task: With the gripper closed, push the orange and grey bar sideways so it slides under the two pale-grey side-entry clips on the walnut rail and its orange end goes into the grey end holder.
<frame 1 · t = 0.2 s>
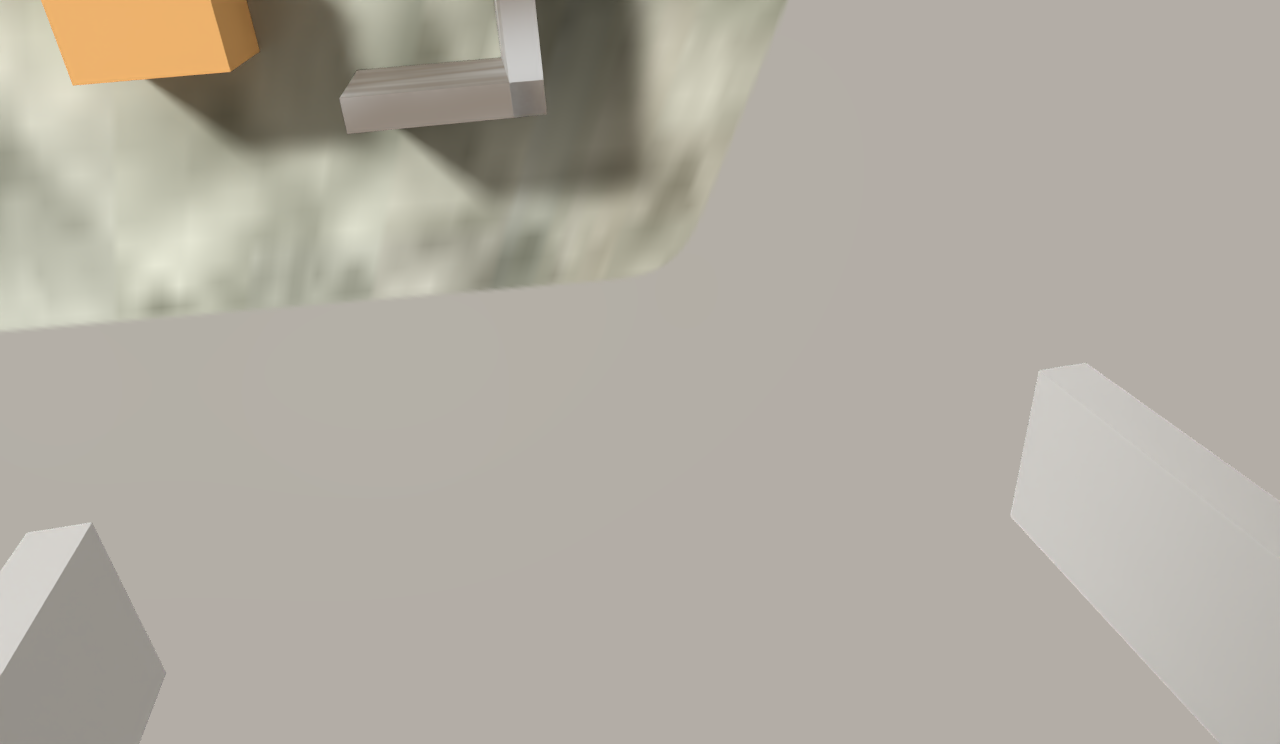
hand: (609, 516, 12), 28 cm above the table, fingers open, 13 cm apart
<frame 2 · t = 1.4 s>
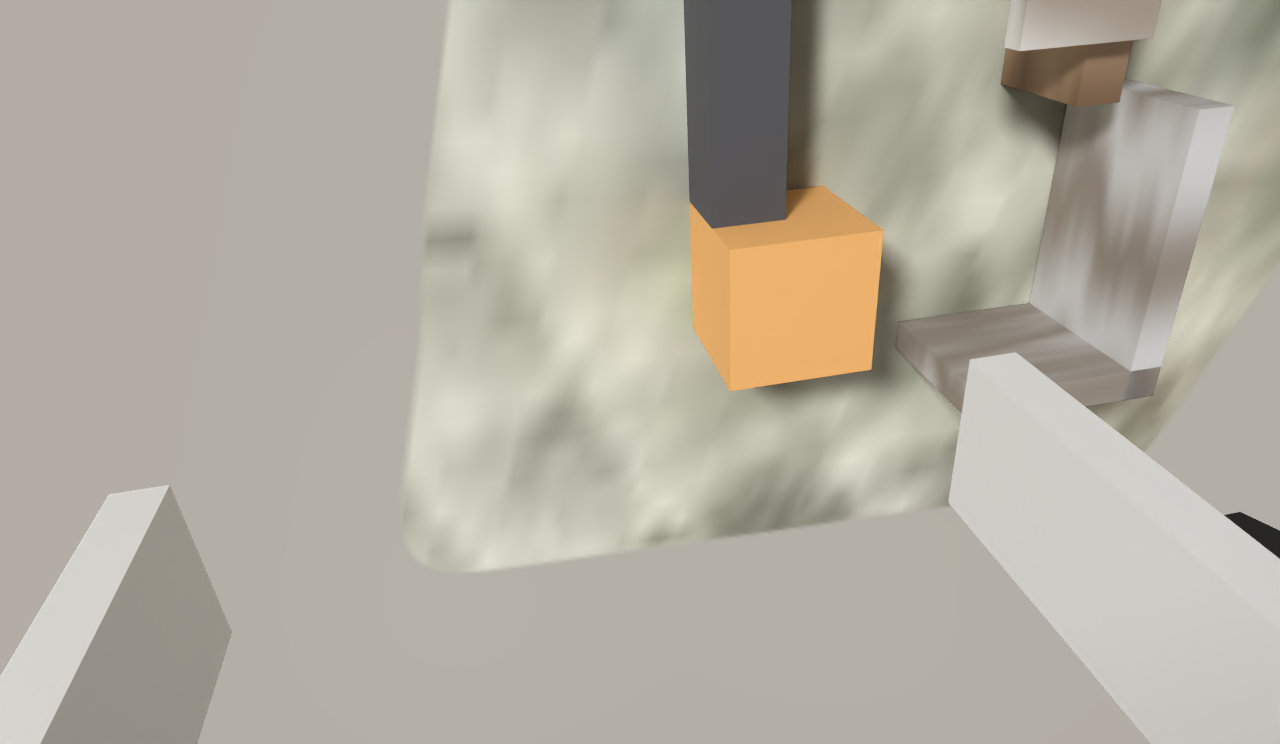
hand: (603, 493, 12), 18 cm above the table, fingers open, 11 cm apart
orange and grey bar: (756, 258, 31), on the table
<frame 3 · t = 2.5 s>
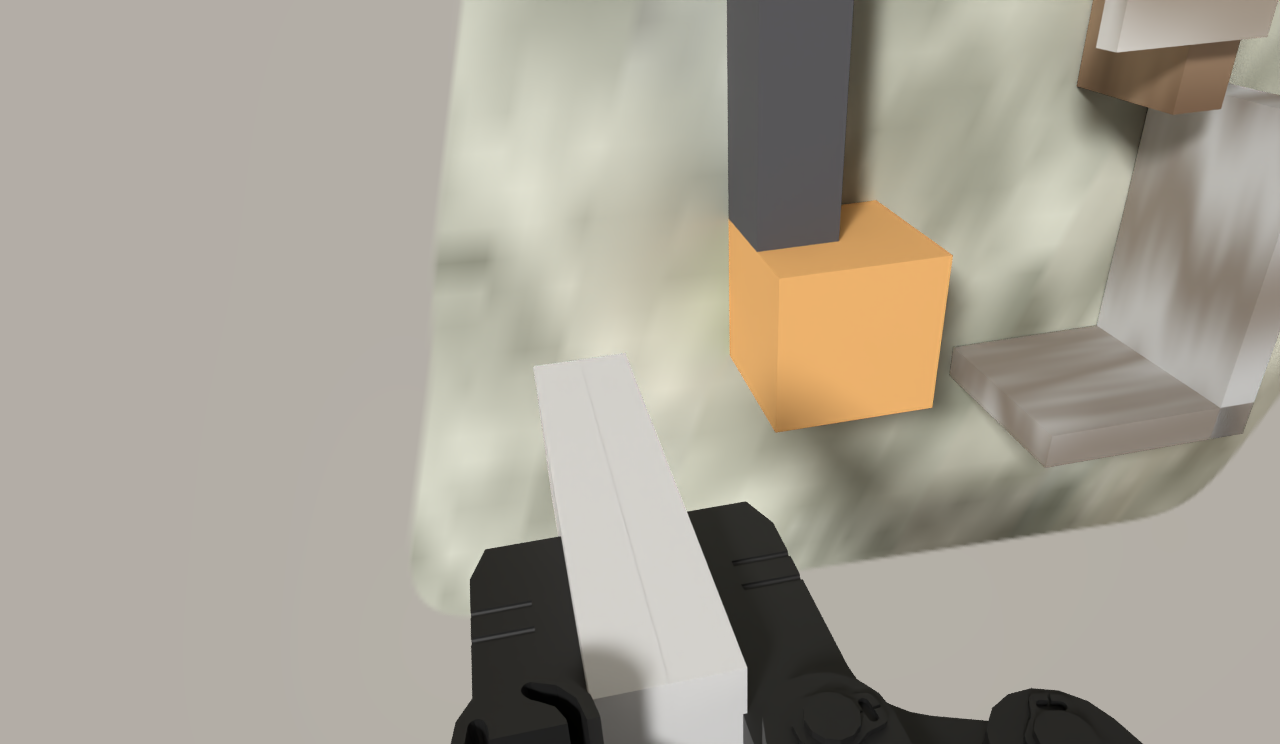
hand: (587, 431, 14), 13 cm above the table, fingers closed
orange and grey bar: (800, 280, 28), on the table
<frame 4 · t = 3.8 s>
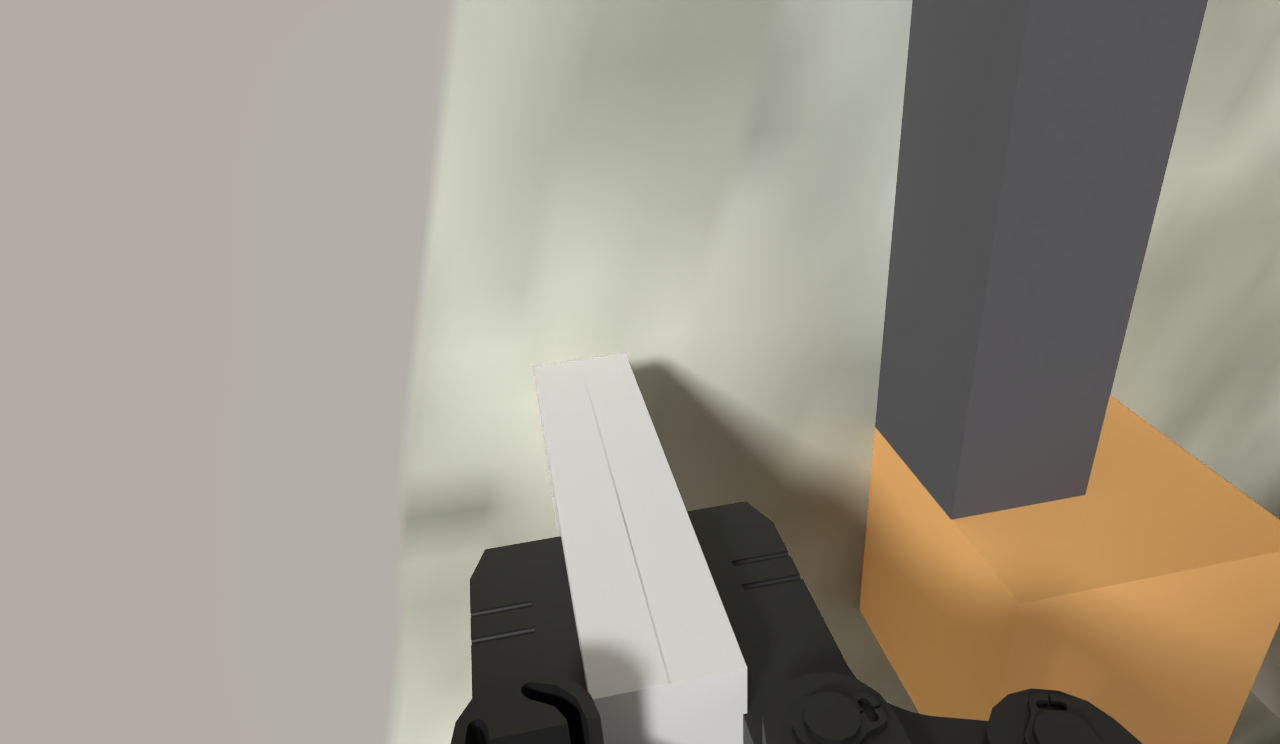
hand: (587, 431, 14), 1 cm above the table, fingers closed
orange and grey bar: (973, 503, 18), on the table
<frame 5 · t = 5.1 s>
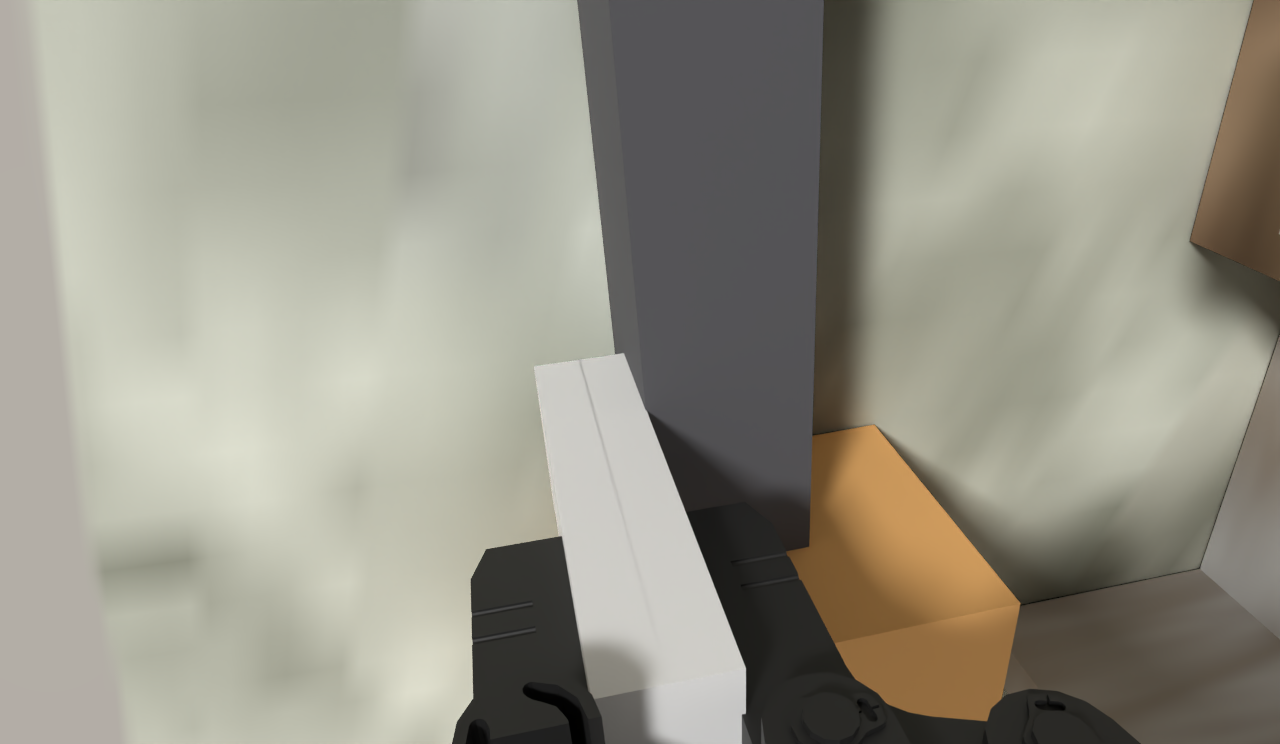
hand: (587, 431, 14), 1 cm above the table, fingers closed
orange and grey bar: (754, 544, 18), on the table, touching gripper
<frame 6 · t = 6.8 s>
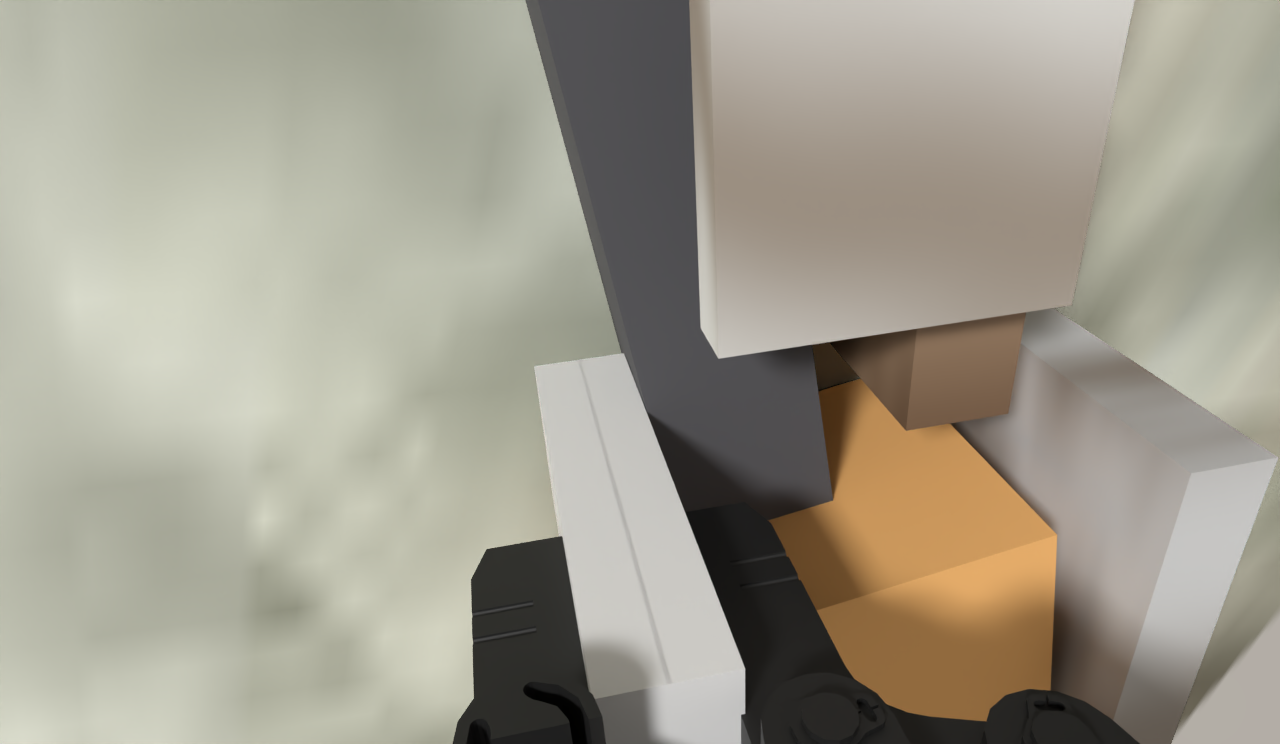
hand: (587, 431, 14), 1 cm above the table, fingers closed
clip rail: (852, 32, 13), on the table
orange and grey bar: (789, 504, 17), on the table, touching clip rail, gripper
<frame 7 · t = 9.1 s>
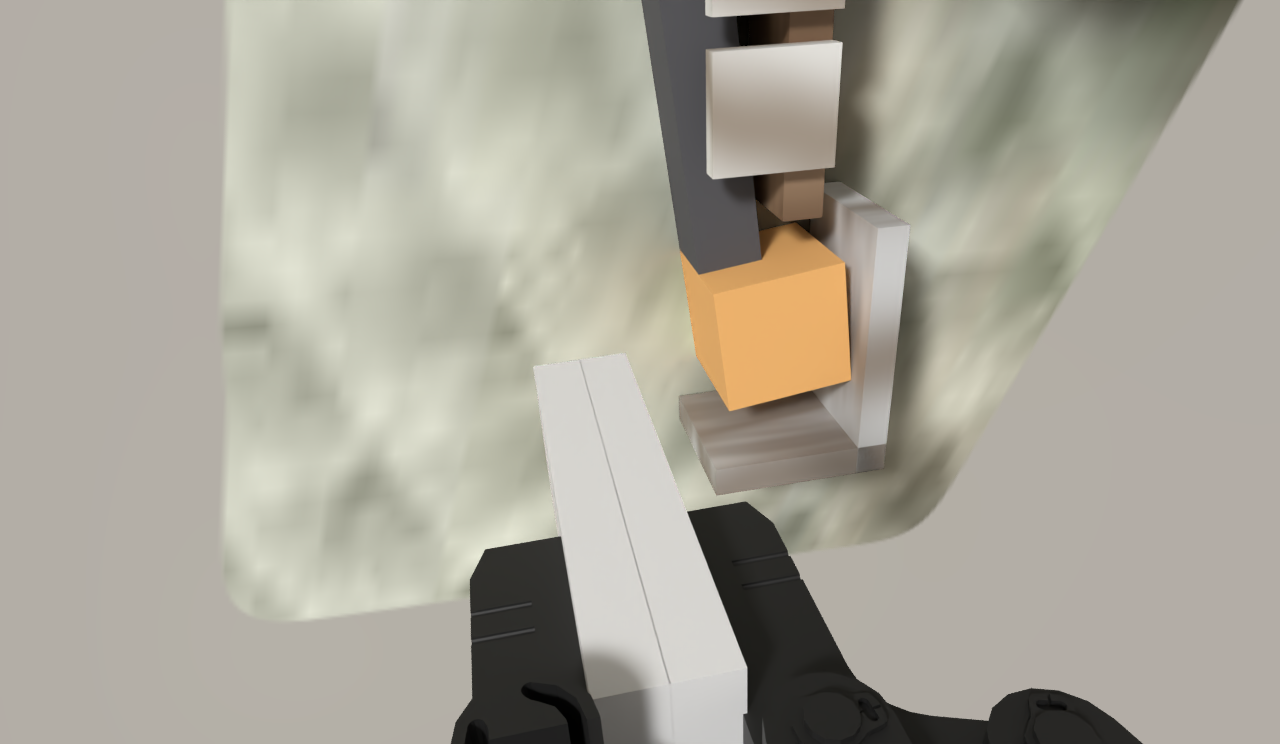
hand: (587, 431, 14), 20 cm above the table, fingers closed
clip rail: (767, 72, 32), on the table
orange and grey bar: (744, 290, 36), on the table
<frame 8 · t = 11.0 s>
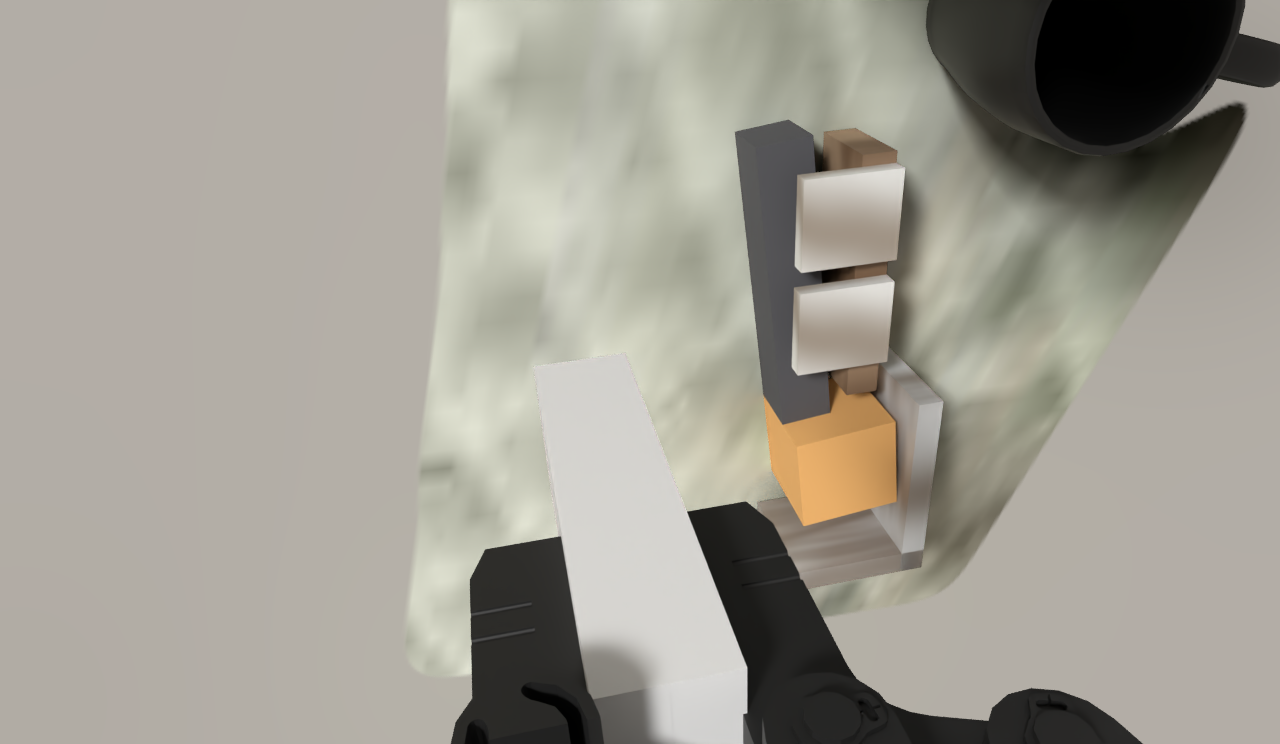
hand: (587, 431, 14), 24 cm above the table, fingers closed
mug: (1017, 18, 37), on the table
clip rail: (832, 273, 41), on the table
orange and grey bar: (811, 422, 46), on the table
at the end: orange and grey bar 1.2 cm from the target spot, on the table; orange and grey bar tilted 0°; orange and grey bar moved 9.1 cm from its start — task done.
